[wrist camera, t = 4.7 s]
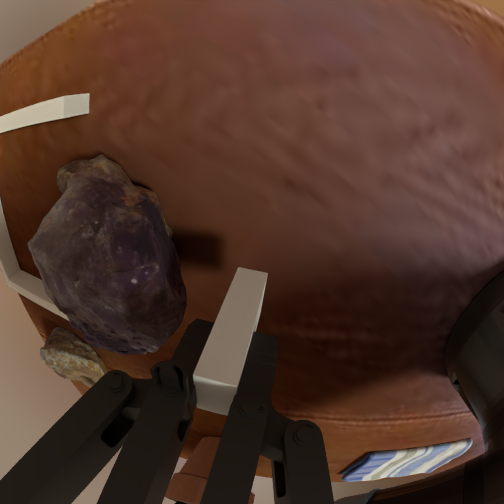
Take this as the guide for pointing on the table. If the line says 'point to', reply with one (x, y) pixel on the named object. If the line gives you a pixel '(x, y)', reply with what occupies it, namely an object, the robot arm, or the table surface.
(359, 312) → the table surface
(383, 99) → the table surface
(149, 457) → the robot arm
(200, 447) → the potted plant
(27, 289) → the bay
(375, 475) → the dish towel
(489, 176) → the table surface
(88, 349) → the oyster shell
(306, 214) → the table surface
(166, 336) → the rock
